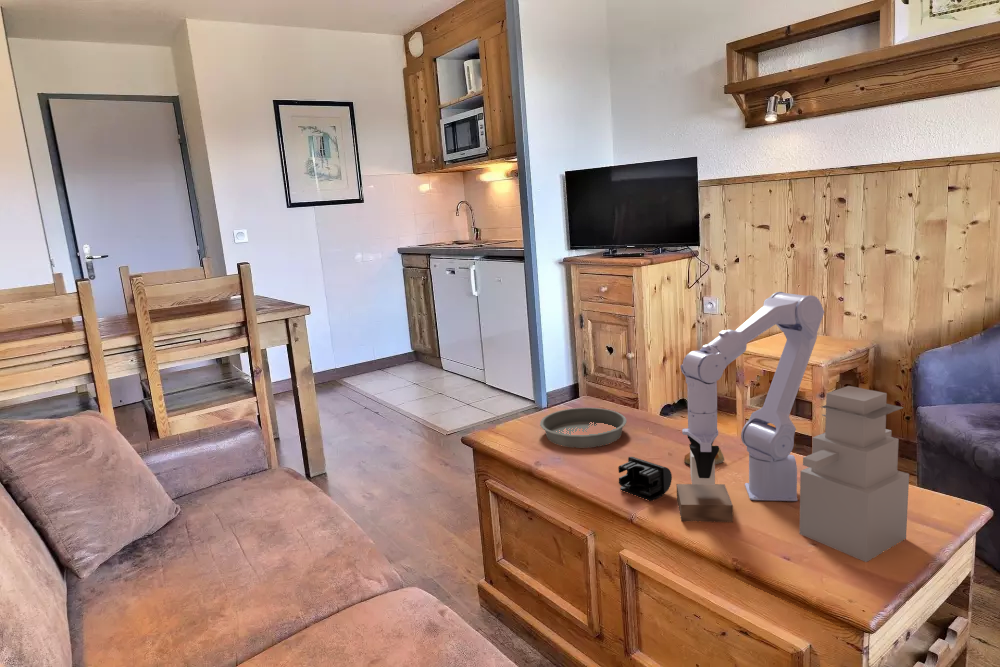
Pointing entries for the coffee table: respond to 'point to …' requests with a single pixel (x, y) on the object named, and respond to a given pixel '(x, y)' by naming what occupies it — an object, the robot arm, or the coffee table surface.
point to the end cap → (644, 479)
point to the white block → (694, 473)
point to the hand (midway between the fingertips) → (703, 472)
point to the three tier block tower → (854, 478)
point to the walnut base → (704, 503)
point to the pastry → (718, 458)
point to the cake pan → (582, 426)
